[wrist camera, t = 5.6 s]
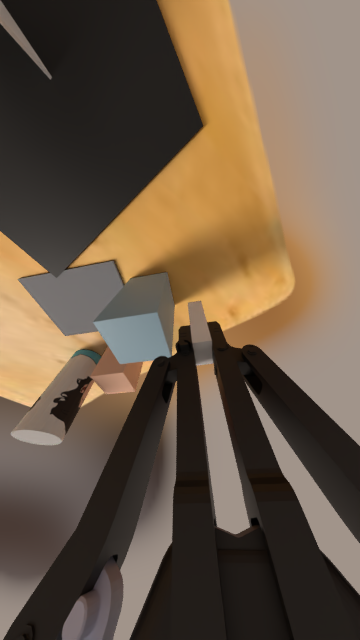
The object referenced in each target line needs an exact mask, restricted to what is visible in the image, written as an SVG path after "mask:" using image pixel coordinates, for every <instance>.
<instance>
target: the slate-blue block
mask: <svg viewBox="0 0 360 640" xmlns="http://www.w3.org/2000/svg"><path fill="white" fill-rule="evenodd" d="M174 307H175V305H174V300H173V296H172V291H171V287H170V282H169V278H168V273H167V272H164V273H159V274H153V275H147V276H142V277H136V278H131V279H130V280H129V281H128V282H127V283H126V284H125V285H124V287H123V288H122V289H121V290H120V291H119V292H118V294H117V295H116V296H115V297H114V298H113V299H112V300H111V302H110V303H109V304H108V305H107V306H106V307H105V309H104V310H103V311H102V312H101V313H100V314H99V315H98V317H97V318H96V319H95V320H94V321H93V323H94V325H95V326H96V328H97V329H98V331H99V333H100V334H101V336H102V337H103V339H104V340H105V342H106V343H107V345H108V346H109V348H110V350H111V351H112V353H113V354H114V356H115V357H116V359H117V360H118V362H119V363H120V364H126V363H134V362H143V361H151V360H155V359H156V358H157V357H159V356H166V357H167V358H169V357H171V356H172V341H173V324H174Z"/></svg>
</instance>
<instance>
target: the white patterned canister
mask: <svg viewBox="0 0 360 640" xmlns="http://www.w3.org/2000/svg"><path fill="white" fill-rule="evenodd" d="M100 359H101V356H100V355H99V354H97V353H95V352H93V351H90V350H78V351H76V352H75V354H74V355H73V356H72V357H71V359H70V360H69V361H68V362H67V364H66V365H65V366H64V367H63V369H62V370H61V371H60V372H59V374H58V375H57V376H56V377H55V379H54V380H53V381H52V382H51V384H50V385H49V386H48V387H47V389H46V390H45V391H44V392H43V394H42V395H41V396H40V397H39V399H38V400H37V401H36V402H35V404H34V405H33V406H32V407H31V409H30V410H29V411H28V412H27V414H26V415H25V416H24V418H23V419H22V420H21V421H20V422H19V424H18V425H17V426H16V428H15V429H14V430H13V431H12V432H11V435H12V436H13V437H14V438H16V439H18V440H21V441H25V442H28V443H33V444H40V445H56V444H60V443H61V442H62V441H63V439H64V437H65V435H66V433H67V431H68V429H69V428H70V426H71V424H72V422H73V420H74V418H75V416H76V414H77V413H78V411H79V409H80V407H81V405H82V403H83V401H84V400H85V398H86V396H87V394H88V392H89V390H90V388H91V386H92V385H93V383H94V380H93V379H92V378H91V377H90V376H91V374H92V372H93V371H94V369H95V367H96V366H97V364H98V362H99V360H100Z"/></svg>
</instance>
